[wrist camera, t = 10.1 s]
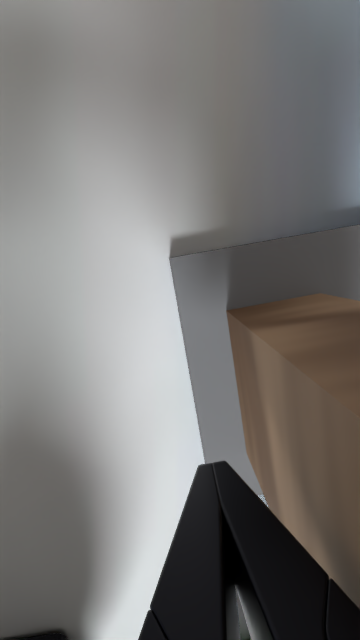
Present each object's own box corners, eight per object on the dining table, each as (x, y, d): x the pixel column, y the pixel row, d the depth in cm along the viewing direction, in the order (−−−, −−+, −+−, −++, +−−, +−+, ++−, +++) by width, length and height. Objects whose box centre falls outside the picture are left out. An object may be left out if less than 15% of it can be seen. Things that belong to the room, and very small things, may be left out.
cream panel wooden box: (246, 453, 13) (382, 781, 5) (226, 310, 11) (375, 430, 3) (329, 438, 13) (606, 737, 5) (320, 293, 11) (705, 368, 3)
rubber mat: (210, 489, 14) (212, 503, 13) (169, 258, 11) (169, 257, 11) (473, 443, 14) (491, 454, 13) (491, 201, 11) (515, 196, 11)
